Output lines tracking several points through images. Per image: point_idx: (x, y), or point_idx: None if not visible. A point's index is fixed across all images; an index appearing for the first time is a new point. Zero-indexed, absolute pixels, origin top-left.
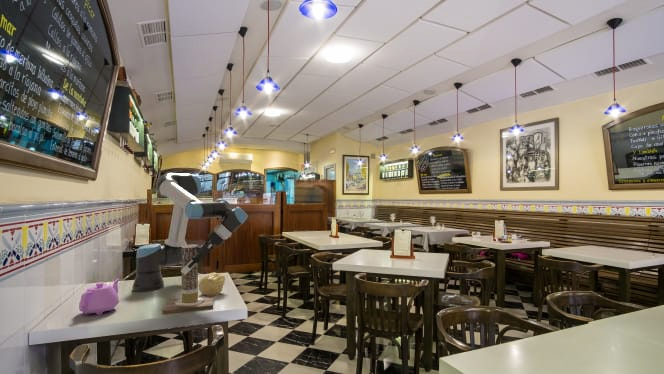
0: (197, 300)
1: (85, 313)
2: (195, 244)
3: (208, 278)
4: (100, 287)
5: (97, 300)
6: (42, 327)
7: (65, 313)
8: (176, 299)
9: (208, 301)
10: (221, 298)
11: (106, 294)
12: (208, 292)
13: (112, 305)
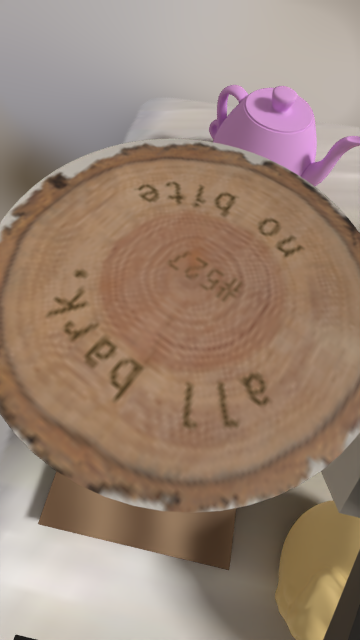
0: None
1: None
2: (338, 448)
3: (325, 581)
4: (273, 109)
5: (218, 135)
6: (180, 104)
7: None
8: None
9: (123, 514)
10: (209, 616)
11: (235, 139)
12: (282, 548)
13: None
